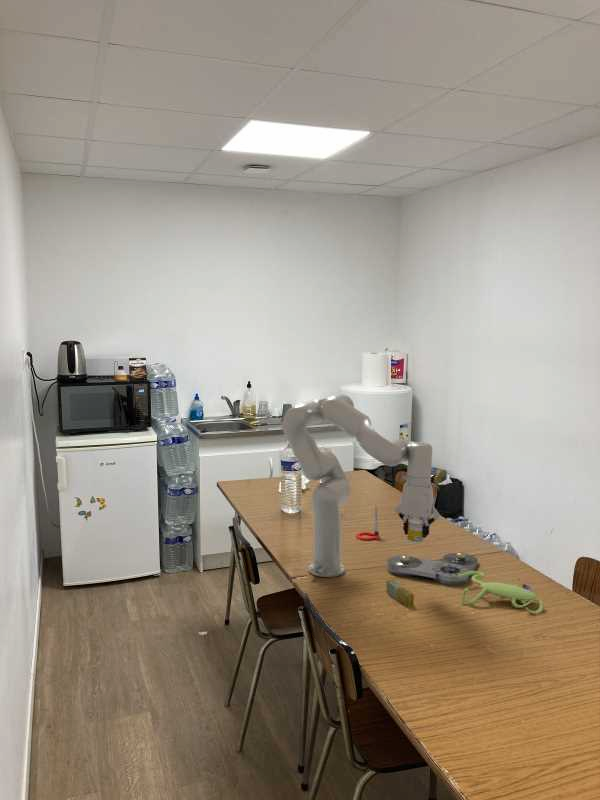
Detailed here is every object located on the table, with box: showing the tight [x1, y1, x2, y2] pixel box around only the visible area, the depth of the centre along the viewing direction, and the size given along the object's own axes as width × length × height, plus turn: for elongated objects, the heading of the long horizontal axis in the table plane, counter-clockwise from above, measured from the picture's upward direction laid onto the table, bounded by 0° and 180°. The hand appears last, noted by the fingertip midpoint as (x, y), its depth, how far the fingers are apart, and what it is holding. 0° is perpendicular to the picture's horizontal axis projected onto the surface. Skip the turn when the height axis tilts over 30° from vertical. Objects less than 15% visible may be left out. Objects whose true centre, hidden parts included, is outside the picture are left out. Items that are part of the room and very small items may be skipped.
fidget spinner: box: [431, 551, 479, 586], centre depth 233 cm, size 12×28×4 cm, turn 154°
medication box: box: [386, 579, 415, 607], centre depth 210 cm, size 12×3×4 cm, turn 25°
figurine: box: [458, 570, 545, 615], centre depth 210 cm, size 18×27×6 cm
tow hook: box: [355, 505, 380, 541], centre depth 267 cm, size 8×13×9 cm
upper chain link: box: [386, 554, 469, 581], centre depth 230 cm, size 12×28×5 cm, turn 64°
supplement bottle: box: [406, 516, 425, 544], centre depth 216 cm, size 5×5×10 cm
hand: (416, 534), depth 216 cm, fingers closed on supplement bottle, 5 cm apart
